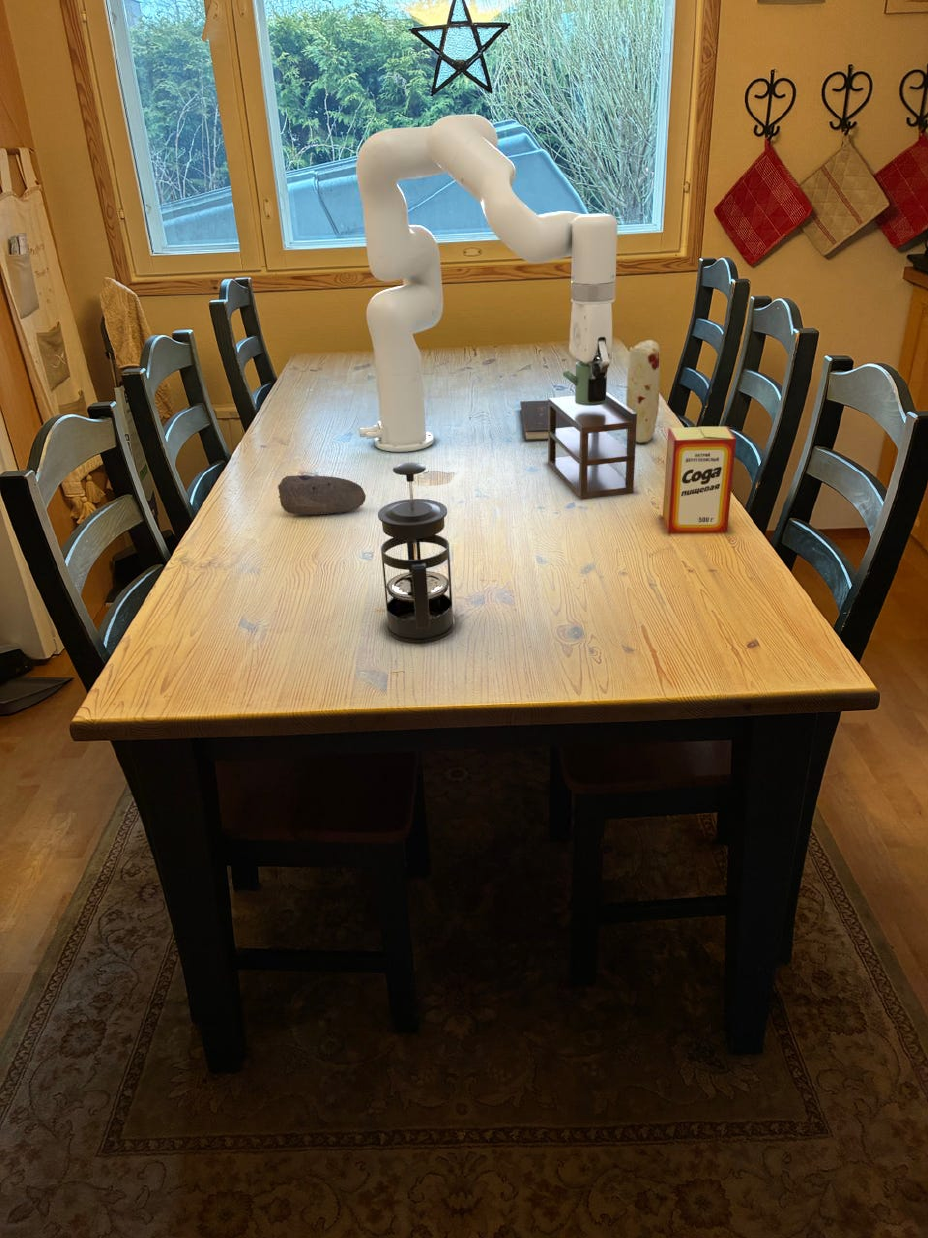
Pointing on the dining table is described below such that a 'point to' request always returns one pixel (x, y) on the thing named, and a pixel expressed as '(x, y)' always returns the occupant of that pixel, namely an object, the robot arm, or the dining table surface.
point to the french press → (416, 567)
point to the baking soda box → (698, 479)
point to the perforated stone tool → (319, 495)
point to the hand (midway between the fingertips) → (590, 395)
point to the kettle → (582, 383)
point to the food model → (644, 387)
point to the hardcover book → (538, 420)
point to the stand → (592, 446)
